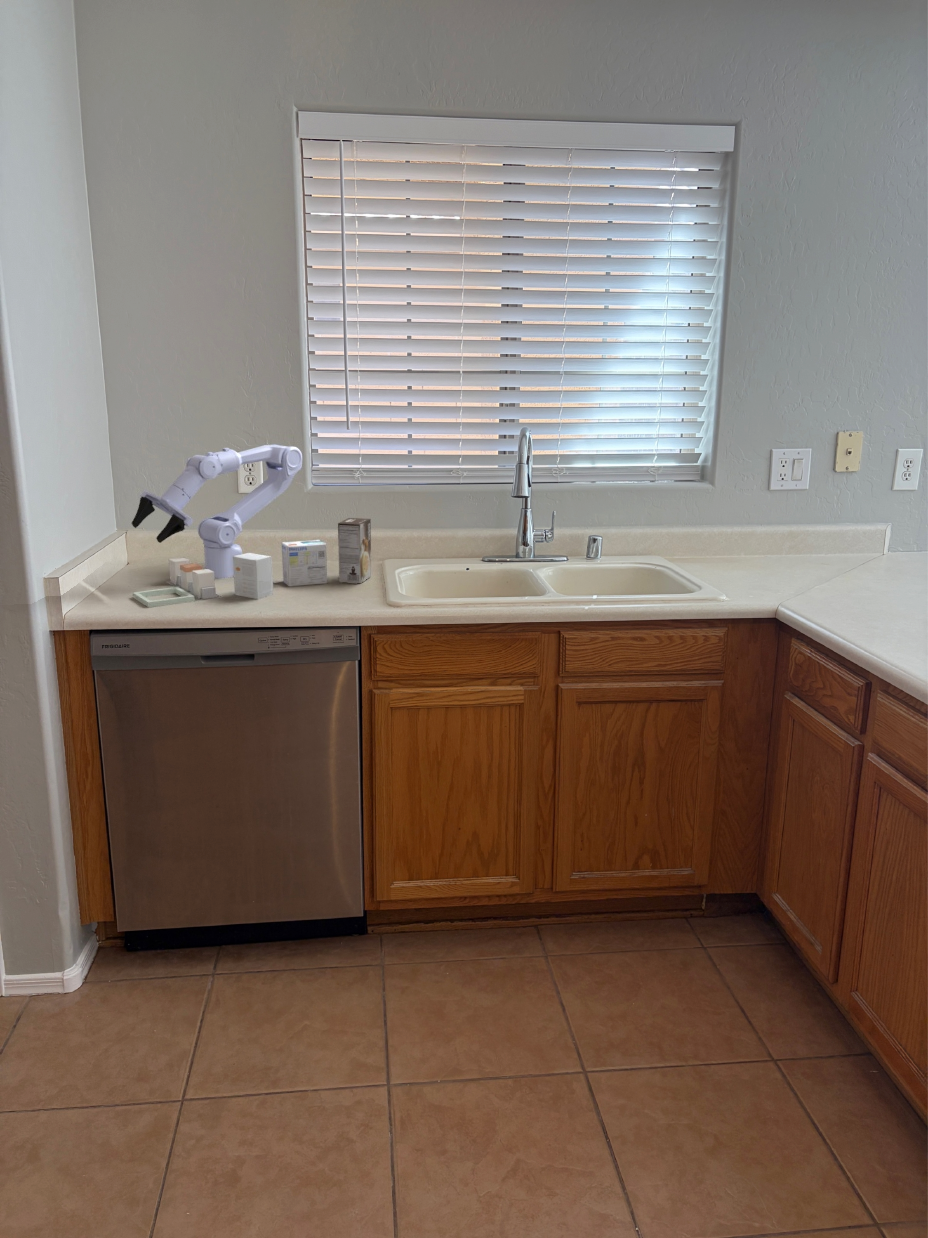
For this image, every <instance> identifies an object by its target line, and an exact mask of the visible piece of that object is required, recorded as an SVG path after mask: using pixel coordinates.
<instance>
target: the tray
mask: <svg viewBox="0 0 928 1238" xmlns="http://www.w3.org/2000/svg"><path fill="white" fill-rule="evenodd" d="M171 594H173V595H174V594H177V595H178V596H176V597H171V598H164V599H155V600H150V599H149V598H147V597H156V596H162V595H163V596H165V595H171ZM132 598H133V599H135V600H137V601H138V602H139V603H141V604H142V605H144V606H146V607H147V608H154V607H155V608H156V607H163V606H169V605H176V604H177V605H179V604H184V603H192V602H195V600H196V599H195V598H194V596H193V595H191V594H190V593H188V592H186V591H184V590H183V589H181V588H179V587H174V586H172V587H166V588H159V589H152V590H151V589H149V590H144V591H143V590H142V591H134V592H132Z"/></svg>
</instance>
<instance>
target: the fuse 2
mask: <svg viewBox="0 0 928 1238" xmlns="http://www.w3.org/2000/svg"><path fill="white" fill-rule="evenodd" d="M192 579H193V595H195V596H197V597H198V598H202V595H201V588H206V587H215V588H216V579H215V578H214V572H213V571H211V570H209V569H205V568H204V569H203V568H202V570H194V571H192Z"/></svg>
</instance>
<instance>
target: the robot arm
mask: <svg viewBox="0 0 928 1238" xmlns="http://www.w3.org/2000/svg"><path fill="white" fill-rule="evenodd" d="M258 462H265V468H266V475H267V479H266V480H264V481H263V482H262V483H261V484H260V485H257V487H255V488H254V489H252V491H250V492H249V493H248V494H246V495H245V496H244V497H242V499H240V500H239V501H237V502H236V503H235V504H234V505H232V506H231V507H230V508H228V509H227V510H225V511H222V512H219V513H218V512H217V513H216V514H214V515H213V516H212V517H207V518H204V519H202V520H201V521H200V522H199V524H198V527H197V534H198V536H199V538H200V539H201V540H202V542H203V543H202V544H203V554H204V569H209V570H211V571H213V572H214V578H215V580H216V579H217V580H218V579H227V578H232V577H233V578H234V571H233V556H236V555H241V554H243V551H242V547H241V546H240V545H239V544H238V543H235V541H236V539H237V537H238V536H239V535H240V534H241V533H242V532H243V528H242V526H243V525H244V524H245V523H246V522H247V521H249V520H250V519H252V518H253V517H255V515H256V514H258V513H259V512H260V511H262V510H263V509H264V508H266V507H267V505H269V504H270V503H272V502H273V501H274V500H275V499H277V498H278V497H279V496H280V495H282V494H283V493H284V492H285V491H287V490H288V489H289V487H290V485H291V483H292V481H293V479H294V478H295V475H296V474H297V472H299V471H300V470H301V469H302V467H303V466H302V465H303V454H302V451H301V450H300V449H299V448H298V447H296V446H285V445H281V444H280V445H279V444H264V445H261V446H256V447H253V448H250V449H245V450H242V451H239V452H237V451H236V450H234V449H230V447H223V448H222V449H221V451H217V452H212V451H208V452H206V455H201V454H195V455H193V456H192V457H188V459H187V461H186V462H185V463H186V465H185V469H184V470H183V471H182V472H181V473H180V474H179V476H178V477H177V478H176V479H175V480H174V482H172V484H171V485H170V486H169V487H168V488H167V490H166V491H165V492H164V493H163V494H162V495H161V496H159V495H158V494H157V495H156V494H154V493H152V492H149V491H148V490H146V489H145V490H144V491H143V492H142V493H141V494H140V499H139V504H138V507H137V510H136V513H135V515H134V517H133V518H132V519H133V520H132V521H131V525H132V527H133V528H135V529H137V528H138V527H139V526H140V525H141V523H143V522H144V521H145V519H146V518H148V516H150V515H151V514H152V513H154V512H155V511H156V509H155V507H156V508H157V509H159V510H161V511H163V512H164V513H166V514H167V515H169V516H170V519H169V520H168V522H167V524H166V525H165V526H164V528H163V529H162V530H161V531H160V532H159V533H158V534H157V536H156V537H155V538H156V541H157V542H158V543H162V542H164V541H165V540H166V539H168V538H169V537H171V536H173V535H175V534H177V533H180V532H183V531H184V530H186V528H185V526H186V527H187V528H190V526H191V525H192V524H193V523H194V520H193V518H192V517H191V516H189V515H188V514H186V513H185V512H184V511H182V510H183V509H184V508H185V507H186V505H187V504H188V503H189V502H190V501H191V499H192V498H193V497H194V496H195V495H196V494H197V492H198V491H199V490H200V489H201V488H202V487H203V486H204V484H205V483H206V482H207V480H215V478H216V477H218V476H219V475H224V474H229V473H233V472H237V471H238V470H239V469H240V468H241V466H243V465H248V464H253V463H258Z"/></svg>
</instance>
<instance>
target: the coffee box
mask: <svg viewBox="0 0 928 1238" xmlns="http://www.w3.org/2000/svg"><path fill="white" fill-rule="evenodd" d="M337 530H338V532H337V533H338V534H337V536H338V538H337V539H338V541H337V542H338V543H337V544H338V579H339V580H338V581H339V583H342V582H349V583H348V584H357V583H361V584H363V583H364V582H365V581H366V579H367V580H368V579H370V578H371V577H372V534H371V533H372V532H371V530H372V528H371V518H363V517H362V518H359V517H348V518H346V519H344V520H341V521H340V522H338V523H337ZM362 582H363V583H362Z"/></svg>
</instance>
